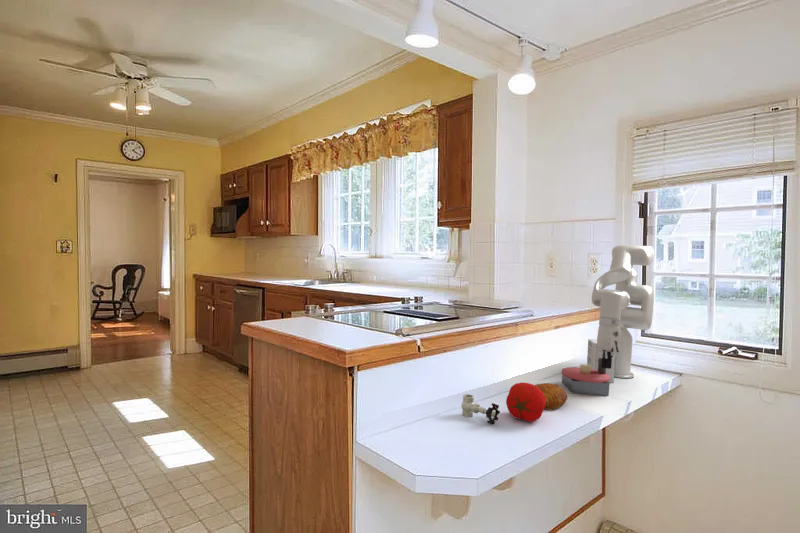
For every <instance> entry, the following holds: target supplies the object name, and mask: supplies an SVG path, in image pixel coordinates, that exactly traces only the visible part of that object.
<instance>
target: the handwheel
mask: <svg viewBox="0 0 800 533" xmlns="http://www.w3.org/2000/svg"><path fill="white" fill-rule="evenodd" d="M562 375H564V376H565V377H568V378H571V379H574V380H578V381H584V382H593V383H603V382H608V381H609V380H610V376H609V375H608V374H606V368H602V358H599V359H598V370H594V369H591V366H590V365H587V364H584V363H583V364H580V366H568V367H564V368H562V369H561V376H562ZM608 383H609V382H608Z"/></svg>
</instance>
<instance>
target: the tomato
mask: <svg viewBox="0 0 800 533" xmlns="http://www.w3.org/2000/svg"><path fill="white" fill-rule="evenodd" d="M534 385H535V384H532V383H529V382H518V383H515V384H513V385H512V386H511V387H510V389H509V392H508V395H507V396H506V400H505V404H506V407H507V408H506V409H507V411H508V412H509V414H510V415H511V416H512V417H513V418H515V419H517V420H524V421H525V422H530V423H533V422H535V421H538V420H539V419H540V418H541V416H542V415H543V413H544V409H545V408H544V407H545V405H546V399H545V395H544V394H543V392H542V391H541V390H540V389H539V388H537V387H536V386H534Z"/></svg>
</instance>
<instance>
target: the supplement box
mask: <svg viewBox="0 0 800 533" xmlns="http://www.w3.org/2000/svg"><path fill="white" fill-rule="evenodd" d="M586 356H587V358H586V365H590V366H591V369H594V370H598V359H599V358H602V356H601V351H600V350H599V348H598V346H597V339H592V338H591V339H590V338H589V339H588V341H587V355H586ZM614 368H615V356H613V359H612V364H611V369H607V368H606V374H608V375H609V376H610V380H609V381H608V383H610V382H611V383H612V384H614V381H615V377H614Z"/></svg>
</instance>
